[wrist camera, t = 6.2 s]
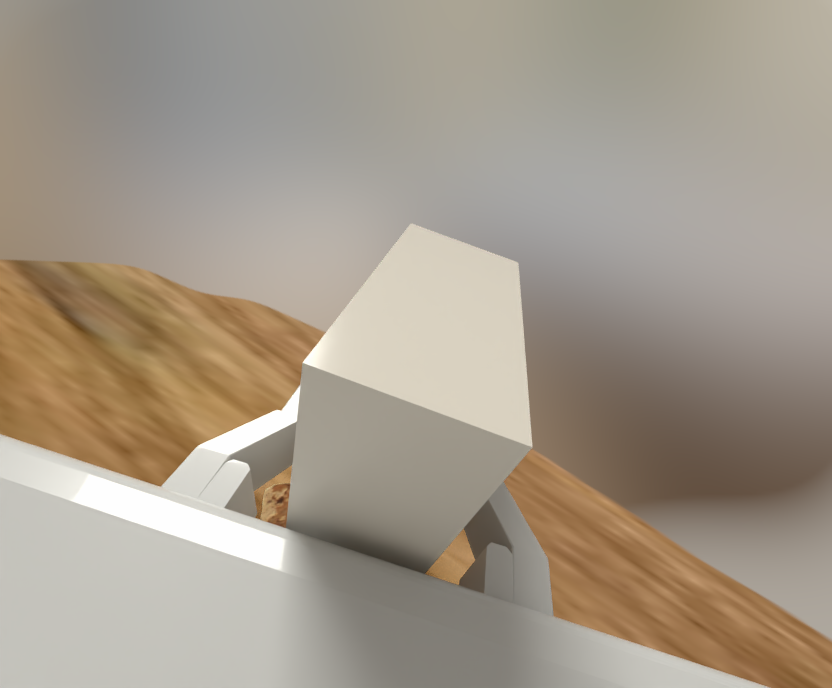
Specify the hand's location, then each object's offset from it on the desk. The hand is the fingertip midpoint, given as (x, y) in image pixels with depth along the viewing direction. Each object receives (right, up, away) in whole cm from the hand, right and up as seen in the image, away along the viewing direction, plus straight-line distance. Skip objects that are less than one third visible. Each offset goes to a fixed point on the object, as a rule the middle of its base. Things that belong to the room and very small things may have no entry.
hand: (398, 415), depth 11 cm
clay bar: (-3, -7, +4) cm, 9 cm away
